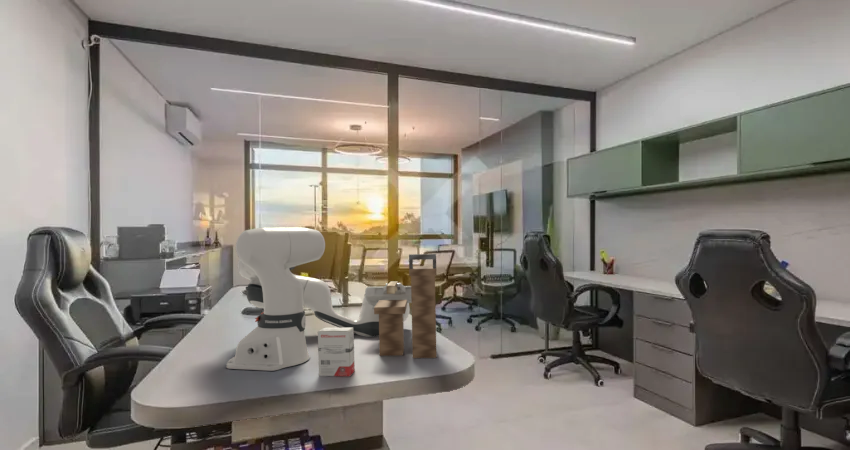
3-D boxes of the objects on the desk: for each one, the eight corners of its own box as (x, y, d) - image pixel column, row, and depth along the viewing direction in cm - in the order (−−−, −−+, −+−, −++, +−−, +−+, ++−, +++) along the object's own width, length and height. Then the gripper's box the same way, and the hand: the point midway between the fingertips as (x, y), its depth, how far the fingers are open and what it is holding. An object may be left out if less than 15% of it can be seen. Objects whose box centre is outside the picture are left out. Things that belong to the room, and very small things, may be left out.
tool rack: (375, 358, 121) (373, 255, 121) (379, 346, 134) (378, 253, 134) (438, 357, 121) (436, 254, 121) (437, 345, 134) (435, 252, 134)
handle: (386, 293, 125) (386, 285, 125) (390, 288, 140) (390, 281, 140) (394, 293, 125) (394, 285, 125) (397, 288, 140) (397, 281, 140)
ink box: (355, 370, 111) (354, 326, 111) (350, 376, 106) (349, 330, 106) (324, 370, 112) (323, 326, 112) (317, 376, 107) (317, 330, 107)
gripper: (425, 308, 147) (425, 293, 135) (367, 309, 147) (362, 294, 135) (425, 291, 150) (424, 276, 138) (368, 292, 150) (363, 277, 138)
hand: (393, 285), depth 136 cm, fingers closed on handle, 2 cm apart
